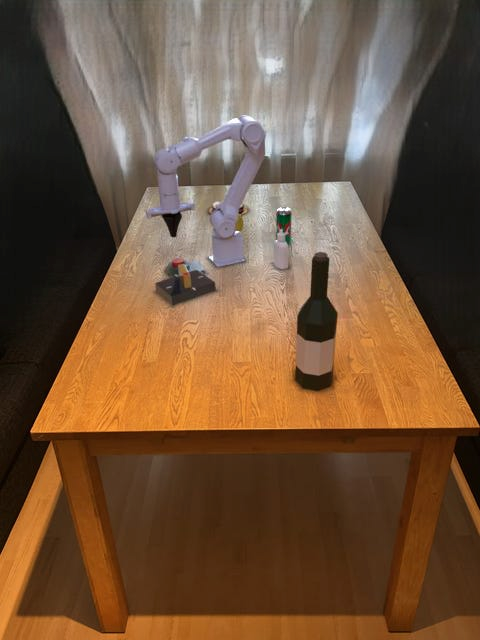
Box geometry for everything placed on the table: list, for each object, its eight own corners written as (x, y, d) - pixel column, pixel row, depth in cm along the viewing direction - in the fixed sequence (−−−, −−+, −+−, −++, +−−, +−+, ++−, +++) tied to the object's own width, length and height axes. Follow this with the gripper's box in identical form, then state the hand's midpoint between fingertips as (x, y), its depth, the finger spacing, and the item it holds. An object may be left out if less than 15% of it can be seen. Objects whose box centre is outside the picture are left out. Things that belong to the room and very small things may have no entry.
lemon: (242, 237, 184) (241, 215, 180) (226, 236, 186) (225, 214, 181) (245, 231, 189) (244, 209, 185) (230, 230, 190) (229, 209, 186)
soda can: (291, 240, 181) (291, 206, 175) (290, 246, 177) (291, 212, 171) (276, 240, 182) (276, 206, 175) (275, 246, 177) (275, 211, 171)
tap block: (196, 277, 160) (195, 267, 158) (217, 292, 151) (216, 282, 150) (154, 290, 153) (153, 281, 151) (174, 307, 145) (172, 297, 143)
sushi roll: (244, 217, 200) (244, 207, 198) (206, 217, 202) (205, 206, 200) (249, 204, 213) (249, 194, 210) (212, 203, 215) (212, 193, 212)
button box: (195, 263, 168) (195, 255, 166) (205, 273, 162) (204, 264, 160) (165, 270, 164) (164, 261, 163) (173, 281, 158) (172, 272, 156)
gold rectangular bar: (178, 277, 153) (177, 263, 151) (184, 276, 154) (183, 262, 152) (185, 288, 147) (183, 275, 145) (191, 287, 148) (190, 273, 146)
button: (181, 262, 163) (181, 256, 162) (185, 266, 160) (185, 261, 159) (170, 264, 162) (170, 259, 161) (174, 269, 159) (173, 263, 158)
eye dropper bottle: (287, 261, 167) (288, 226, 161) (288, 269, 162) (289, 233, 156) (273, 262, 167) (273, 226, 161) (274, 270, 162) (274, 233, 156)
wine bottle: (292, 368, 120) (295, 247, 104) (328, 366, 120) (337, 244, 104) (298, 392, 113) (303, 265, 97) (336, 389, 113) (348, 262, 97)
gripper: (148, 200, 148) (154, 245, 155) (197, 192, 153) (200, 236, 160) (141, 193, 153) (147, 237, 160) (188, 185, 158) (192, 228, 165)
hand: (173, 236), depth 161 cm, fingers closed
